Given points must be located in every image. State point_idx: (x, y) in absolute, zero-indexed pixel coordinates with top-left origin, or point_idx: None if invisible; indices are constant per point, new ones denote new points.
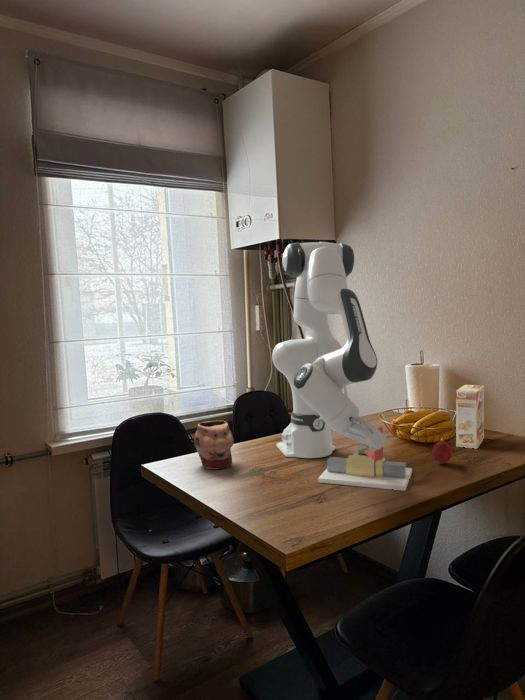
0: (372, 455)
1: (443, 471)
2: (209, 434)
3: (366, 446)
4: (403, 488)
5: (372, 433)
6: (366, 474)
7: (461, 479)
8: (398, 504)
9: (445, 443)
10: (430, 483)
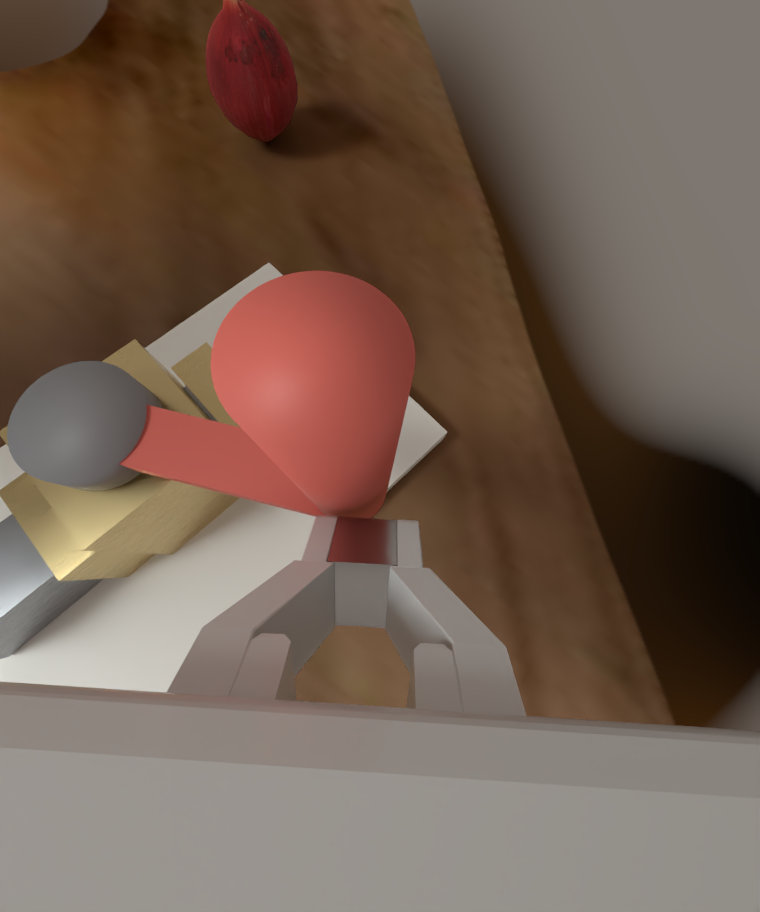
0: (295, 508)
1: (335, 186)
2: None
3: (328, 626)
4: (439, 440)
5: (628, 749)
6: (228, 501)
7: (439, 197)
8: (570, 571)
9: (258, 15)
10: (419, 303)
